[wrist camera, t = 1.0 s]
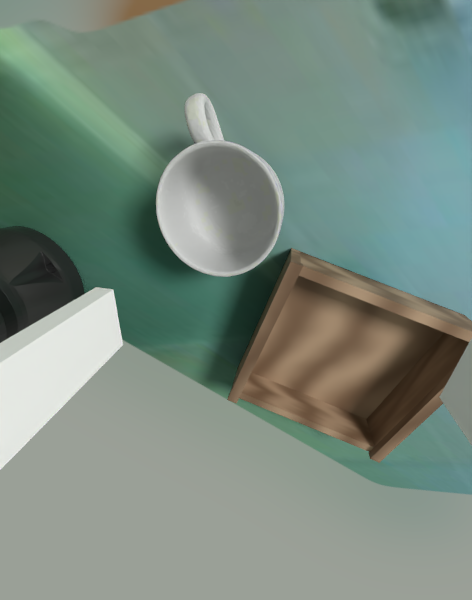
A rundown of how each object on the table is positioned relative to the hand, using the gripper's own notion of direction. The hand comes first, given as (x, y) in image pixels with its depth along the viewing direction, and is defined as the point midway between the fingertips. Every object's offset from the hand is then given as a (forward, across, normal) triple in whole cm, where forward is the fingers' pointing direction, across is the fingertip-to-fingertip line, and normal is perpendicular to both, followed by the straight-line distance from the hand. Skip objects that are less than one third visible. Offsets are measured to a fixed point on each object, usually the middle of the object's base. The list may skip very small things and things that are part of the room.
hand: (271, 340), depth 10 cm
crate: (+20, +8, -13) cm, 26 cm away
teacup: (+21, -6, +4) cm, 22 cm away
